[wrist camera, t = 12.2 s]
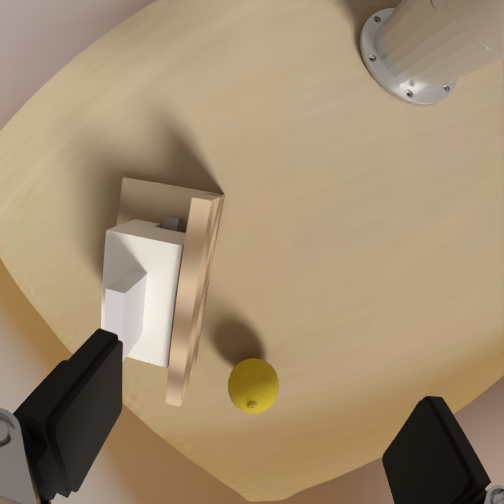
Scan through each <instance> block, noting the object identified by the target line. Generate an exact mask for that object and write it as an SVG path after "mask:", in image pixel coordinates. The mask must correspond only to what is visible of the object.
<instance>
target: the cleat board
mask: <svg viewBox="0 0 504 504" xmlns="http://www.w3.org/2000/svg"><path fill="white" fill-rule="evenodd" d="M224 196H225V195H224V194H219V193H213V192H208V191H203V190H197V189H192V188H186V187H181V186H175V185H169V184H163V183H157V182H151V181H145V180H139V179H133V178H123V179H122V186H121V193H120V200H119V207H118V215H117V223H116V226H118V225H121V224H123V223H126V222H129V221H132V220H134V219H138V220H143V221H148V222H153V223H158V224H160V228H162V229H167V230H172V231H177V232H182V233H186V236H185V243H184V249H183V256H182V262H181V269H180V276H179V283H178V291H177V298H176V306H175V314H174V322H173V331H172V340H171V349H170V359H169V369H168V380H167V392H166V403H167V404H171V405H175V406H179V407H180V406H181V403H182V400H183V397H184V394H185V391H186V388H187V385H188V383H189V380H190V377H191V374H192V371H193V368H194V365H195V362H196V358H197V351H198V345H199V338H200V332H201V325H202V319H203V313H204V307H205V301H206V295H207V289H208V283H209V277H210V272H211V266H212V260H213V255H214V249H215V243H216V238H217V233H218V227H219V222H220V217H221V211H222V206H223V201H224Z"/></svg>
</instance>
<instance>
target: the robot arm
mask: <svg viewBox="0 0 504 504" xmlns="http://www.w3.org/2000/svg"><path fill="white" fill-rule="evenodd" d="M360 50H361V54H362V57H363V60H364V62H365V64H366V67H367V69H368V70H369V72H370V73H371V75H372V76H373V78H374V79H375V80H376V81H377V82H378V83H379V84H380V85H381V86H382V87H383V88H384V89H385V90H386V91H388V92H389V93H390V94H392V95H393V96H395V97H396V98H398V99H400V100H403V101H405V102H407V103H411V104H415V105H431V104H435V103H437V102H440V101H442V100H444V99H445V98H447V97H448V96H449V95H450V94H451V93H452V91H453V89H454V87H455V85H456V82H457V79H458V78H460V77H462V76H465V75H467V74H469V73H472V72H474V71H476V70H479V69H481V68H484V67H486V66H488V65H491V64H493V63H496V62H498V61H501V60H503V59H504V0H402V1H401V2H400V3H399V4H398V5H397V7H396V8H386V9H382V10H379V11H378V12H376V13H374V14H373V15H372V16H371V17H370V18H369V19H368V20H367V21H366V23H365V24H364V26H363V28H362V31H361V35H360ZM370 59H371V60H372V61H371V60H370ZM406 94H407V95H408V96H407V95H406ZM122 362H123V342H122V341H121V340H118V335H117V334H115V333H112V332H109V331H106V330H104V329H101V328H100V329H98V330H96V331H95V332H94V333H93V335H92V336H91V337H90V338H89V339H88V340H87V341H86V342H85V343H84V344H83V345H82V346H81V347H80V348H79V349H78V350H77V351H76V352H75V353H74V354H73V355H72V357H71V358H70V359H69V360H68V361H67V360H64V361H62V362H60V363H59V364H58V365H57V366H56V368H54V370H53V371H52V372H51V373H50V374H49V375H48V376H47V377H46V378H45V379H44V380H43V381H42V382H41V383H40V384H39V386H38V387H37V388H36V389H35V390H34V391H33V392H32V393H31V394H30V395H29V396H28V397H27V399H26V400H25V401H24V402H23V403H22V404H21V405H20V406H19V407H18V409H17V410H16V411H15V412H14V413H13V414H12V413H10V412H9V411H7V410H4V409H2V408H0V504H52V503H51V500H52V499H54V497H55V495H56V493H59V494H61V495H63V496H65V497H67V498H68V496H69V495H70V493H71V491H73V492H77V491H78V490H79V488H80V486H81V485H82V483H83V481H84V479H85V477H86V475H87V473H88V471H89V470H90V468H91V466H92V464H93V462H94V460H95V458H96V457H97V455H98V453H99V451H100V449H101V447H102V446H103V444H104V442H105V440H106V438H107V436H108V435H109V433H110V431H111V429H112V427H113V426H114V424H115V422H116V420H117V419H118V417H119V415H120V413H121V409H122ZM382 462H383V466H384V469H385V472H386V475H387V479H388V482H389V486H390V489H391V493H392V496H393V500H394V503H395V504H504V486H501V485H495V486H492V487H491V488H490V489H489V490H488V491H487V492H486V490H485V488H486V487H487V486H488V485H489V484H490V483H491V481H490V479H489V477H488V475H487V473H486V472H485V470H484V467H483V466H482V464H481V462H480V460H479V459H478V457H477V455H476V453H475V451H474V449H473V448H472V446H471V445H470V442H469V441H468V439H467V437H466V436H465V434H464V432H463V430H462V429H461V427H460V425H459V424H458V422H457V420H456V419H455V417H454V415H453V414H452V412H451V410H450V409H449V407H448V406H447V404H446V402H445V401H444V399H443V398H442V397H435V396H426V397H424V398H423V399H422V400H421V401H419V402H418V404H417V405H416V407H415V408H414V410H413V412H412V413H411V415H410V416H409V418H408V419H407V421H406V422H405V424H404V425H403V427H402V428H401V430H400V431H399V433H398V434H397V436H396V437H395V439H394V440H393V441H392V443H391V444H390V446H389V447H388V448H387V450H386V451H385V453H384V454H383V458H382Z"/></svg>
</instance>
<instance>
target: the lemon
mask: <svg viewBox="0 0 504 504" xmlns="http://www.w3.org/2000/svg"><path fill="white" fill-rule="evenodd" d="M278 388H279V384H278V377H277V374H276V372H275V370H274V369H273V367H272V366H271V365H270V364H269V363H267V362H266V361H264V360H261V359H257V358H250V359H246V360H244V361H241V362H240V363H239V364H237V365H236V366H235V367H234V369H233V370H232V372H231V374H230V377H229V380H228V392H229V395H230V398H231V401H232V402H233V404H234V405H235V406H236V407H237V408H238V409H240V410H242V411H244V412H247V413H259V412H263V411H264V410H266V409H268V408H269V407H270V406H271V405H272V404H273V402H274V401H275V399H276V396H277V393H278Z"/></svg>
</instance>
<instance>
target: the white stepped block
mask: <svg viewBox="0 0 504 504" xmlns="http://www.w3.org/2000/svg"><path fill="white" fill-rule="evenodd" d="M185 236H186V233H182V232H177V231H172V230H167V229H162V228H160V224H158V223H153V222H148V221H143V220H138V219H134V220H132V221H129V222H126V223H123V224H121V225H118V226H115V227H113V228H110V229H107V230H106V240H105V252H104V265H103V283H102V316H101V329H104V330H106V331H109V332H112V333H115V334H117V335H118V340H121V341H122V342H123V361H124V359H125V358H126V357H130V358H133V359H137V360H140V361H144V362H147V363H151V364H155V365H159V366H162V367H166V368H168V366H169V359H170V349H171V340H172V331H173V322H174V314H175V306H176V298H177V291H178V283H179V276H180V269H181V262H182V256H183V249H184V243H185Z"/></svg>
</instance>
